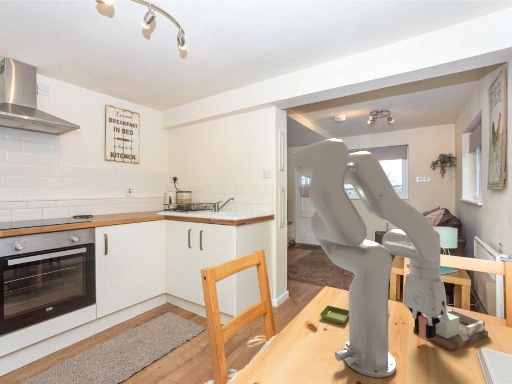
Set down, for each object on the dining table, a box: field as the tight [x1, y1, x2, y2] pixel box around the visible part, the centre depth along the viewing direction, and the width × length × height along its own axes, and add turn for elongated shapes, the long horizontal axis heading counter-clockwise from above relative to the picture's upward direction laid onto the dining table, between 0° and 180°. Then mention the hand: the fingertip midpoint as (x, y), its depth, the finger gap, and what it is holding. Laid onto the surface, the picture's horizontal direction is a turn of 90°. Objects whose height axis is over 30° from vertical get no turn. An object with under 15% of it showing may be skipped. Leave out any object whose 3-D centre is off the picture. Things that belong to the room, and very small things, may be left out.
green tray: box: [319, 305, 349, 325], centre depth 91 cm, size 9×9×2 cm
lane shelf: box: [413, 308, 489, 352], centre depth 80 cm, size 18×11×4 cm, turn 113°
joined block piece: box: [418, 312, 459, 341], centre depth 77 cm, size 12×6×6 cm, turn 113°
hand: (425, 334), depth 75 cm, fingers closed on joined block piece, 2 cm apart
